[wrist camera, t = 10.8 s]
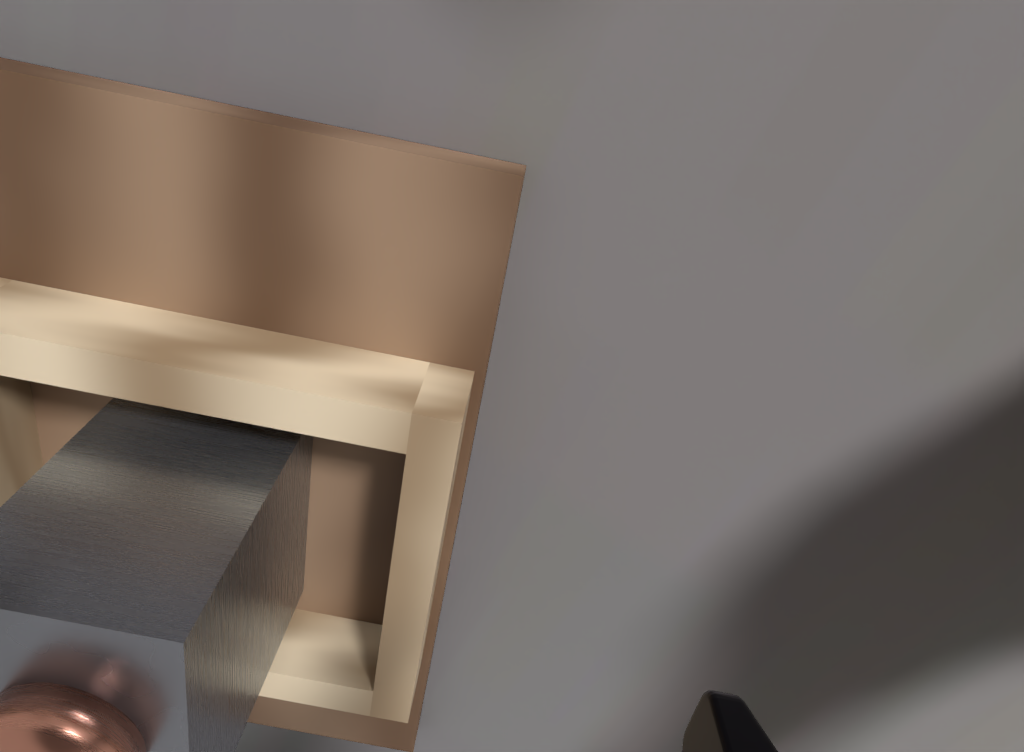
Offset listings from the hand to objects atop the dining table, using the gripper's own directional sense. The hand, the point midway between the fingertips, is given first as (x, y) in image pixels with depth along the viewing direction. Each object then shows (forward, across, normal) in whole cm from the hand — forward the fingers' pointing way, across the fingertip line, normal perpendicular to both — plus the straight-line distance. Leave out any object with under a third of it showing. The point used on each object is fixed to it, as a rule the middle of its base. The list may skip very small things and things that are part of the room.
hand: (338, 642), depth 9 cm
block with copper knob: (+11, +6, +8) cm, 15 cm away
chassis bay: (+12, +6, +8) cm, 16 cm away
